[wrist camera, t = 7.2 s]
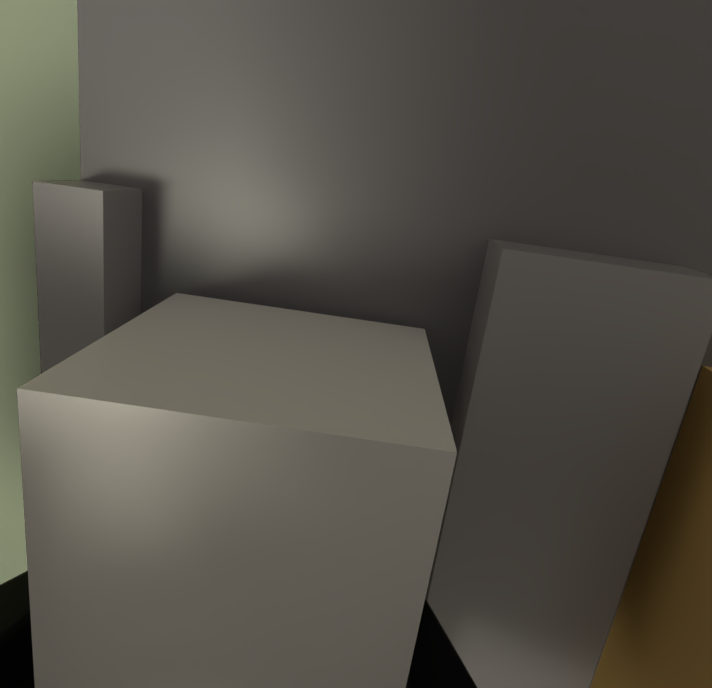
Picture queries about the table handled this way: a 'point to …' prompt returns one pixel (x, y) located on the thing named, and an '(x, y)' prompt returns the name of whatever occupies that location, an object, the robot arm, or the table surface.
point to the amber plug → (671, 572)
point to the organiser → (429, 249)
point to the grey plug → (233, 500)
